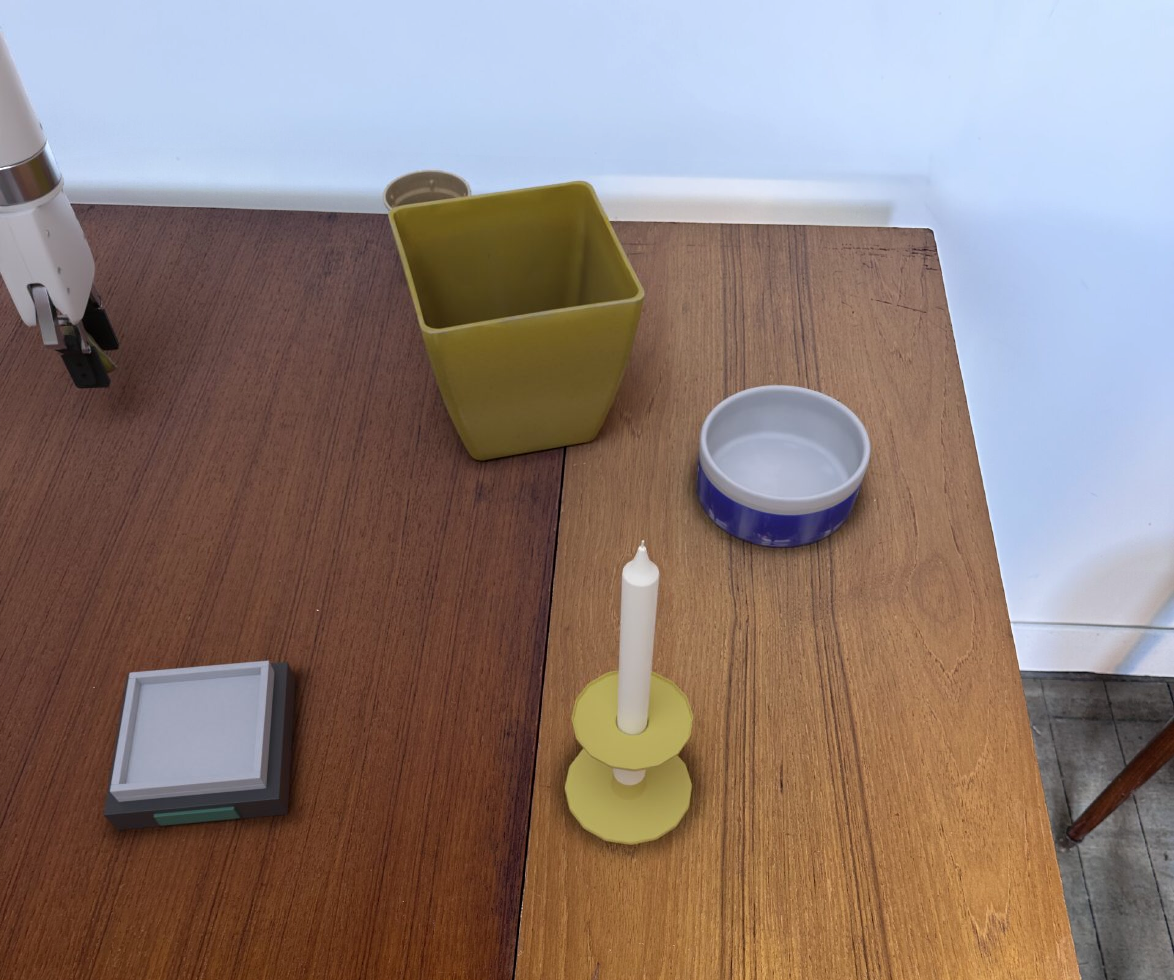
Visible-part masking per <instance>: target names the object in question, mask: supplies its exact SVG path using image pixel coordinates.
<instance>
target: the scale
mask: <svg viewBox="0 0 1174 980" xmlns="http://www.w3.org/2000/svg"><path fill="white" fill-rule="evenodd" d="M295 697H296V678H295V675H294V673H293V671H292V669H291V666H290V664H289V661H279V662H270V660H260V661H249V662H248V661H247V662H236V663H225V664H213V665H201V666H189V667H178V668H166V669H156V670H144V671H133V672H129V675H126V677H125V685H124V690H123V696H122V702H121V708H120V714H119V720H118V725H117V726H118V727H117V732H116V738H115V745H114V750H113V755H112V760H111V761H112V762H111V768H110V773H109V780H108V785H107V792H106V798H105V804H104V810H103V816H104V818H105V819H106V820H107V821H108V822H109V823H110V824H111V825H112V827H114V828H115V830H117V831H125V830H137V829H147V828H158V827H168V826H177V825H178V826H180V825H189V824H199V823H209V822H211V823H212V822H221V821H231V820H241V819H253V818H262V817H264V818H265V817H275V816H282V815H283V816H284V815H285V816H286V815H288V814H289V802H290V783H291V765H292V751H293V750H292V748H293V734H294V733H293V732H294V715H295V699H296V698H295Z"/></svg>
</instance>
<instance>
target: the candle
mask: <svg viewBox="0 0 1174 980" xmlns="http://www.w3.org/2000/svg"><path fill="white" fill-rule="evenodd" d="M640 543H641V545H639V547H638V548H637V550H636V554H635V556H634V558H633V559H632V560H630V561H628V562H627V563H626V564H625V565H624V566H623V568H622V573H621V594H620V595H621V597H620V624H619V625H620V628H619V652H618V654H619V655H618V670H613V671H607V672H606V673H604V674H602V675H600V676H599V677H597V678H595V679H594V680H591V681H590V682H588V683H587V684H586V686H585V687H584V688H583V689H582V691H581V692H580V693H579V694H578V696H577V697H576V699H575V701H574V706H573V710H572V715H571V724H572V728H573V731H574V736H575V739H576V742H578V744H579V745H580V746H581V747H582V749H581V751H580V752H579V753H578V755H577V756H576V757H575V759H574V760H573V761H572V763H571V764H570V765H569V766H568V770H567V775H566V779H565V783H564V793H565V798H566V802H567V805H568V810H569V812H570V813H571V815H572V816H573V817H574V818H575V819H576V820H577V822H578V823H579V824H580V826H581V828H583V829H584V830H586V831H587V832H589V833H591V834H592V835H594V836H595V837H597V838H599V839H601V840H603V841H604V842H610V843H615V844H622V845H628V846H634V845H638V844H643V843H647V842H654V841H657V840H659V838H661V837H663V836H664V835H667V834H668V833H670V832H671V831H672V830H674V829H675V828H677V827H678V825H679V824H680V823H681V821H682V819H683V818H684V816H685V815H686V814H687V812H688V810H689V809H690V804H691V797H692V790H693V783H692V781H691V777H690V774H689V771H688V769H687V764H686V763H685V762H684V760H682V758H681V757H680V756H679V754H680V753H681V752H682V750H683V748H684V747H685V745H686V744H687V743H688V741H689V740H690V739H691V734H692V729H693V728H692V727H693V721H694V714H693V711H692V708H691V705H690V701H689V699H688V696H687V695H686V694H685V693H684V692H683V691H682V690H681V688H679V686H677V684H676V683H675V682H674V681H673V680H670V679H668V678H666V677H665V676H663V675H660V674H659V673H658V672H654V671H652V666H653V658H654V657H653V656H654V655H653V654H654V643H655V634H656V633H655V632H656V621H657V609H658V608H657V607H658V598H659V597H658V595H659V584H660V583H659V582H660V571H659V567H658V565H656V563H654V562H653V561H651V559H650V558H649V555H648V551H647V547H646V546H645V540H644V539H642V540H641V542H640Z"/></svg>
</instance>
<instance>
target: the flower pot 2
mask: <svg viewBox="0 0 1174 980" xmlns="http://www.w3.org/2000/svg"><path fill="white" fill-rule="evenodd" d="M387 217H388V221H389V225H390V228H391V232H392V236H393V240H394V243H395V246H396V249H397V253H398V256H399V260H400V263H401V266H402V267H401V268H402V271H403V273H404V277H405V280H406V285H407V287H408V290H409V294H410V298H411V301H412V304H413V307H414V311H415V315H416V318H417V321H418V325H419V330H420V332H421V336H422V339H423V344H424V347H425V350H426V353H427V356H428V360H429V363H430V366H431V369H432V373H433V375H434V378H435V381H436V384H437V387H438V390H439V393H440V395H441V398H442V400H443V403H444V406H445V409H446V410H447V413H448V416H449V417H450V419H451V421H452V423H453V425H454V428H455V430H456V432H457V434H458V436H459V437H460V439H461V442H462V443H463V445H464V447H465V449H466V451H467V452H468V454H469V456H470V457H471V458H472V459H473V460H477V461H487V460H493V459H498V458H504V457H509V456H516V455H520V454H527V453H533V452H538V451H539V452H540V451H543V450H544V451H545V450H549V449H556V448H561V447H567V446H573V445H578V444H583V443H589V442H592V441H594V440H595V439H596V438H597V436H598V434H599V432H600V430H601V429H602V427H603V425H604V423H605V420H606V419H607V416H608V414H609V412H610V410H611V407H612V406H613V404H614V401H615V399H616V396H617V394H618V391H619V388H620V386H621V383H622V382H623V378H624V375H625V372H626V369H627V366H628V363H629V360H630V357H631V354H632V350H633V347H634V343H635V340H636V335H637V332H638V327H639V323H640V319H641V315H642V309H643V304H644V299H645V290H644V287H643V286H642V284H641V282H640V280H639V278H638V275H637V274H636V272H635V270H634V268H633V265H632V263H631V261H630V260H629V257H628V256H627V254H626V252H625V249H624V247H623V245H622V243H621V242H620V239H619V237H618V236H617V234H616V231H615V229H614V228H613V225H612V223H611V221H610V218H609V217H608V215H607V213H606V211H605V209H604V207H603V205H602V203H601V200H600V199H599V197H598V194H597V192H596V191H595V188H594V186H593V184H591V183H590V182H588V181H585V180H572V181H567V182H560V183H553V184H545V185H539V186H531V187H525V188H524V187H523V188H517V189H509V190H502V191H495V192H488V193H480V194H473V195H471V196H465V197H458V198H451V199H444V200H437V201H430V202H423V203H416V204H408V205H402V206H398V207H395V208H393V209H391V210H390V211H389V210H388V212H387Z"/></svg>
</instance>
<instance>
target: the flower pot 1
mask: <svg viewBox="0 0 1174 980" xmlns="http://www.w3.org/2000/svg"><path fill="white" fill-rule="evenodd" d="M465 196H472V189H471V185H470V184H469V182H468V181H466V179H464V178H463V177H461V176H460V175H458V174H455V173H453V172H448V171H445V170H441V169H421V170H414V171H410V172H407V173H404V174H402V175H400V176H398V177H396V178H394V179H393V180H391V181H390V182H389V183H388V184H386V187H384V189H383V192H382V202H383V204H384V206H385V208H386V210H388V212H389V211H390V210H391V209H393V208H395V207H398V206H402V205H408V204H416V203H423V202H430V201H437V200H444V199H451V198H458V197H465Z"/></svg>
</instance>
